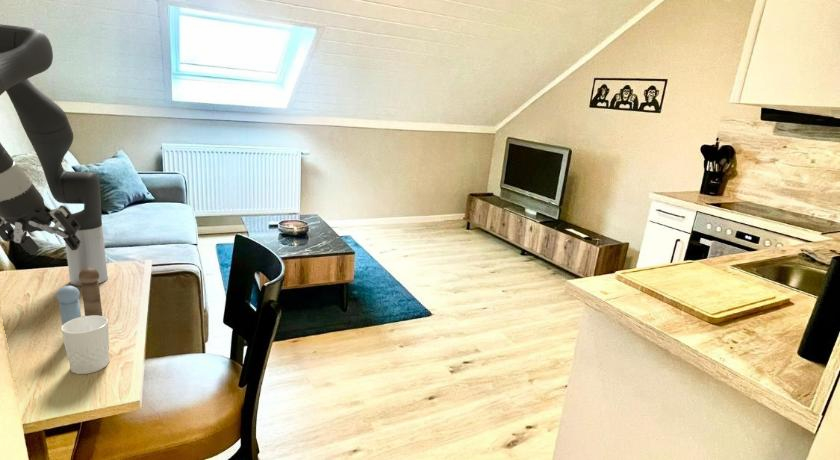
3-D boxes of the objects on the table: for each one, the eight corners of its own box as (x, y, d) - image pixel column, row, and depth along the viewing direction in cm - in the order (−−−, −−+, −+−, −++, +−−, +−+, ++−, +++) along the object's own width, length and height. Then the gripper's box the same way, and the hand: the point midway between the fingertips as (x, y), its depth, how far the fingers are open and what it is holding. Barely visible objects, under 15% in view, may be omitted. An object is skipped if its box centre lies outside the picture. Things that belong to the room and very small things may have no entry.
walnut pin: (84, 315, 116) (78, 266, 112) (104, 312, 118) (99, 264, 115) (83, 322, 113) (76, 272, 109) (103, 319, 115) (97, 270, 111)
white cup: (77, 381, 91) (71, 337, 89) (60, 366, 95) (54, 324, 92) (119, 364, 98) (115, 323, 95) (101, 351, 102) (97, 311, 99)
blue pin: (64, 337, 106) (56, 284, 102) (86, 334, 108) (79, 281, 104) (61, 346, 102) (53, 291, 98) (84, 342, 104) (77, 288, 101)
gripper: (56, 174, 89) (97, 235, 100) (-19, 181, 88) (31, 241, 99) (35, 196, 83) (82, 258, 94) (-45, 204, 82) (11, 265, 93)
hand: (56, 249), depth 96 cm, fingers open, 8 cm apart
